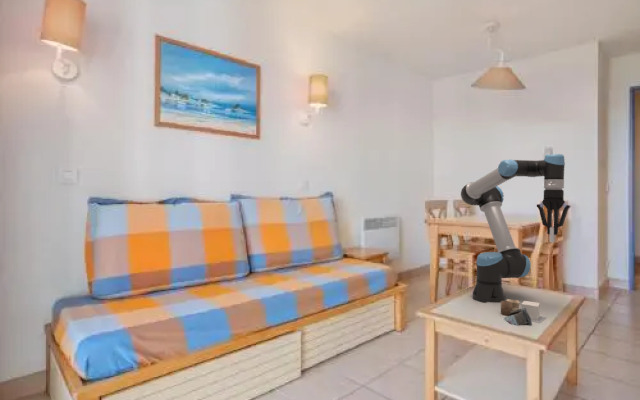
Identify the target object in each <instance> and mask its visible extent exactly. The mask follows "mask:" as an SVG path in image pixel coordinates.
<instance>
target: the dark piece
mask: <svg viewBox="0 0 640 400" xmlns="http://www.w3.org/2000/svg"><path fill="white" fill-rule="evenodd" d="M503 320H505V322H509V323H510V324H511V325H512V326H513V325H515V326H518V327H519V326H525V325H528V326H532V325H533V323H532V321H531V318H530V316H529V314H528V313H527V310H526V308H523V309H522V308H519V309H518V310H514V311H510V314H509V316H505V317H503Z"/></svg>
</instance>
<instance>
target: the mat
mask: <svg viewBox="0 0 640 400" xmlns="http://www.w3.org/2000/svg"><path fill="white" fill-rule="evenodd" d="M546 319H547V317H546V316H541V315H539V319H538V321H536V320H531V321H532V322H533V323H538V324H541V323H542V322H543V321H545V320H546Z"/></svg>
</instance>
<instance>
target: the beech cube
mask: <svg viewBox="0 0 640 400" xmlns="http://www.w3.org/2000/svg"><path fill="white" fill-rule="evenodd" d="M506 301H509V302H512V311H514V310H518V309H520V300H517V299H509V298H507V299H506Z"/></svg>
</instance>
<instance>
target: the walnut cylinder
mask: <svg viewBox="0 0 640 400" xmlns="http://www.w3.org/2000/svg"><path fill="white" fill-rule="evenodd" d="M510 311H512V302H509V301H507V300H505V301H501V302H500V315H502V316H505V317H508V316H509V314H510Z"/></svg>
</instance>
